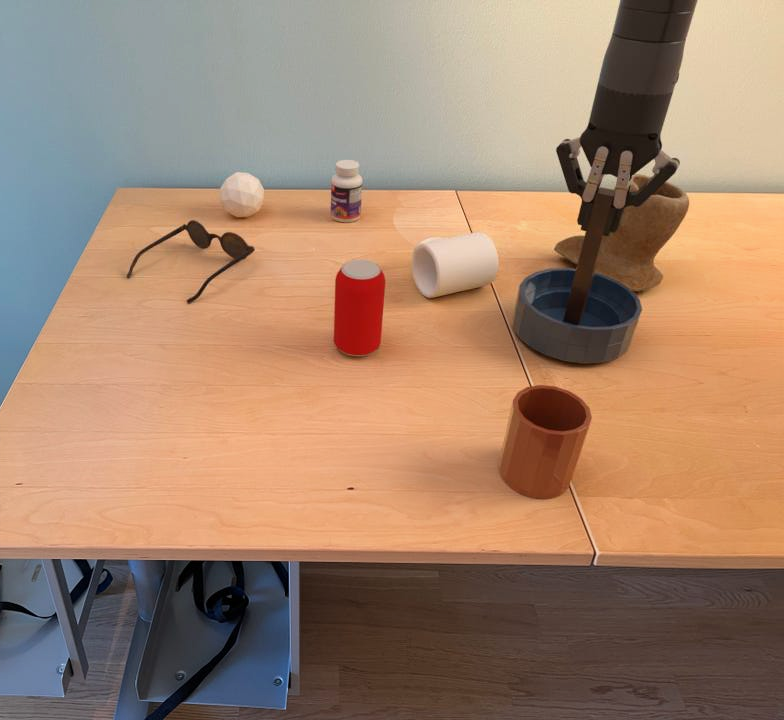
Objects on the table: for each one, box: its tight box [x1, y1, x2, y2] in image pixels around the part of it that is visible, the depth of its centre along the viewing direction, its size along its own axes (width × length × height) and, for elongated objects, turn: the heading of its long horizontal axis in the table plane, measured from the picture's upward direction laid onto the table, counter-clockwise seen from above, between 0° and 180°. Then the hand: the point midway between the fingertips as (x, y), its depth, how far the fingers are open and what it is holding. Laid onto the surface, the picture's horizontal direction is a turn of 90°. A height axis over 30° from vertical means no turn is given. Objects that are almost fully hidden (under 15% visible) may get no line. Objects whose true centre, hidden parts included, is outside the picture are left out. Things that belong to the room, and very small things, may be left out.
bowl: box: [512, 267, 643, 364], centre depth 93 cm, size 15×15×6 cm
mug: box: [411, 231, 499, 299], centre depth 104 cm, size 12×10×8 cm
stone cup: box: [553, 173, 690, 292], centre depth 104 cm, size 15×12×15 cm
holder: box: [498, 384, 593, 500], centre depth 71 cm, size 7×7×9 cm
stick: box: [563, 186, 616, 325], centre depth 86 cm, size 2×2×18 cm
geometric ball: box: [219, 171, 265, 218], centre depth 123 cm, size 8×8×8 cm
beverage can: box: [333, 259, 386, 357], centre depth 89 cm, size 6×6×12 cm
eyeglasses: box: [126, 219, 256, 304], centre depth 107 cm, size 15×15×5 cm
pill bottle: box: [330, 159, 363, 223], centre depth 122 cm, size 5×5×10 cm
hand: (596, 230), depth 84 cm, fingers closed on stick, 2 cm apart
